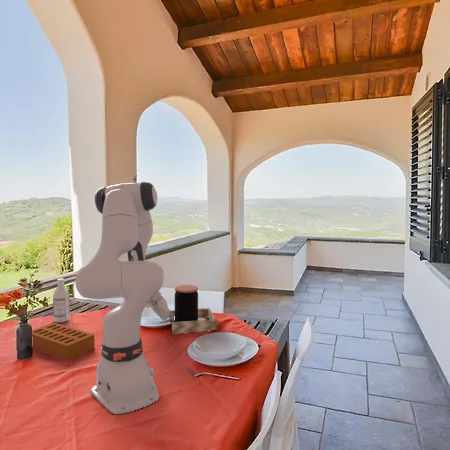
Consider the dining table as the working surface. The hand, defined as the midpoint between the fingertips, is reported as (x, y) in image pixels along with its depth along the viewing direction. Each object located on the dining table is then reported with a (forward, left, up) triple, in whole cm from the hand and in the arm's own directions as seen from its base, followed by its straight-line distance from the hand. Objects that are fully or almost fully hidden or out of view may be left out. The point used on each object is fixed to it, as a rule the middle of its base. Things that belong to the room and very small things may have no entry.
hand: (173, 317), depth 156 cm
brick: (+4, +46, -5) cm, 47 cm away
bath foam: (+36, +41, -5) cm, 55 cm away
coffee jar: (-2, -6, -5) cm, 7 cm away
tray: (-3, -8, -4) cm, 9 cm away
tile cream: (0, -13, -5) cm, 14 cm away
